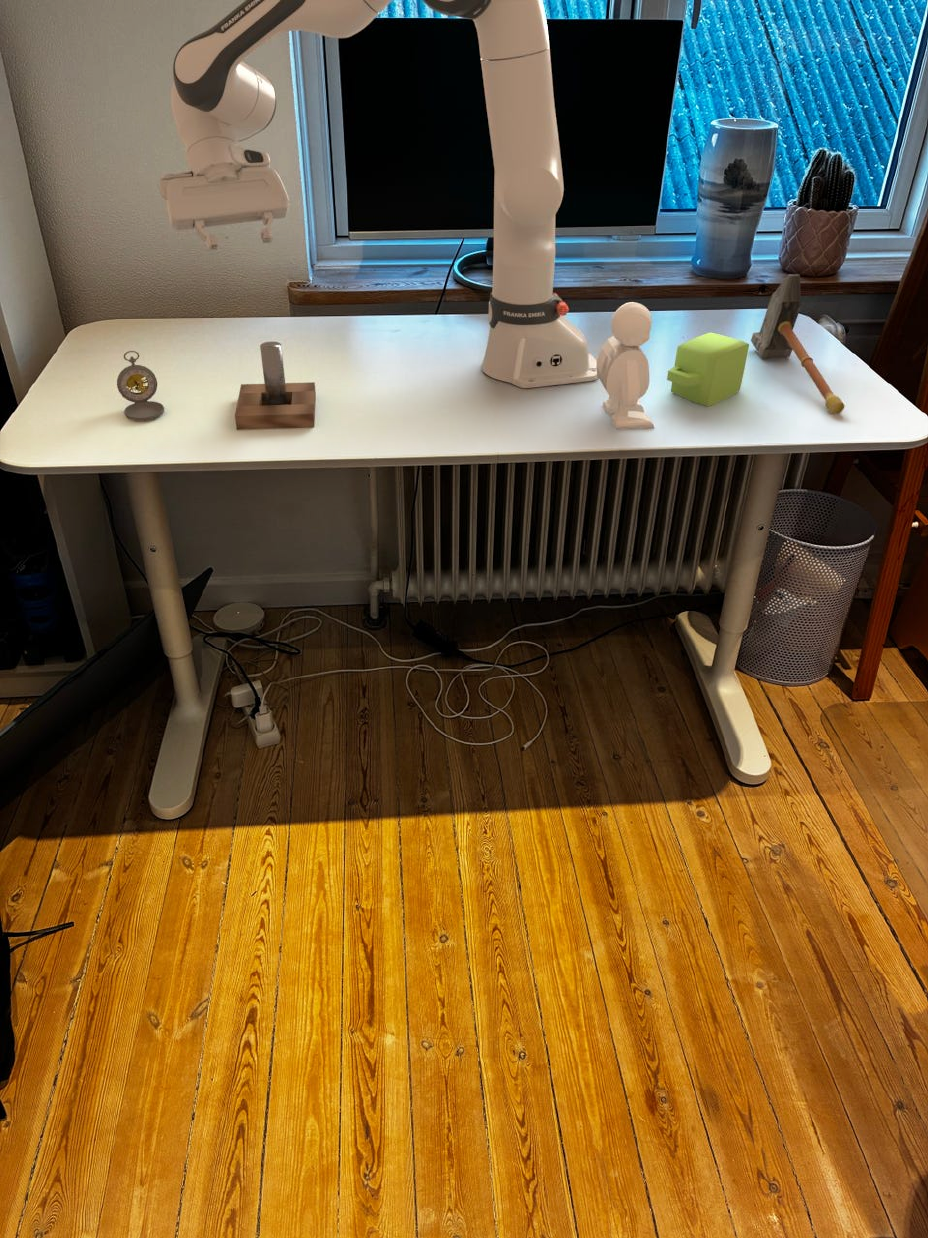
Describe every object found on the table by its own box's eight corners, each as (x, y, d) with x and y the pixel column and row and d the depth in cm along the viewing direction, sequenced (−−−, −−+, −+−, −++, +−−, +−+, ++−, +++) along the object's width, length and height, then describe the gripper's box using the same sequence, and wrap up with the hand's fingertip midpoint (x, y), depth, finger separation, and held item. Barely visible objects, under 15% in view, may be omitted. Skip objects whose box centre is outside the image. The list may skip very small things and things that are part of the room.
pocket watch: (144, 426, 161) (132, 369, 155) (109, 414, 165) (97, 358, 159) (179, 409, 167) (169, 354, 161) (145, 397, 170) (134, 343, 164)
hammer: (839, 364, 161) (774, 268, 180) (808, 440, 173) (749, 342, 193) (873, 362, 162) (804, 267, 181) (839, 438, 174) (778, 341, 194)
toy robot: (657, 432, 162) (674, 316, 150) (606, 434, 161) (619, 318, 149) (635, 398, 173) (650, 288, 161) (587, 400, 172) (598, 289, 160)
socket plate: (315, 395, 172) (314, 382, 171) (314, 427, 162) (313, 413, 160) (242, 397, 171) (241, 384, 169) (236, 429, 161) (234, 415, 159)
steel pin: (288, 407, 168) (281, 341, 161) (287, 415, 165) (280, 348, 158) (268, 407, 168) (260, 341, 160) (267, 416, 165) (259, 349, 158)
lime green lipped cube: (708, 369, 185) (717, 321, 179) (753, 384, 179) (763, 335, 173) (652, 395, 175) (660, 345, 169) (698, 412, 169) (707, 361, 163)
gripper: (155, 163, 154) (179, 241, 153) (277, 152, 162) (301, 226, 161) (154, 186, 160) (178, 262, 159) (272, 174, 168) (295, 247, 166)
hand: (240, 244), depth 160 cm, fingers open, 8 cm apart
